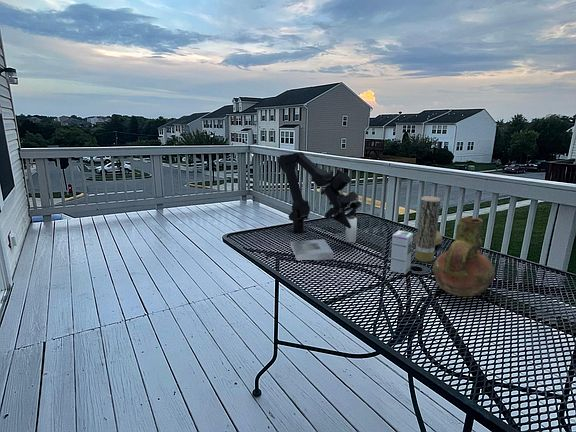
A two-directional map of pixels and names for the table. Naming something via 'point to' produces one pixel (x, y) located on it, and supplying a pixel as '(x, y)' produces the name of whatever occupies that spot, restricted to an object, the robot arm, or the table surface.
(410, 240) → the syrup box
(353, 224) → the plug
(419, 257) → the paper tube
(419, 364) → the table surface
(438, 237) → the bread roll
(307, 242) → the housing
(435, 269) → the ceramic vessel
